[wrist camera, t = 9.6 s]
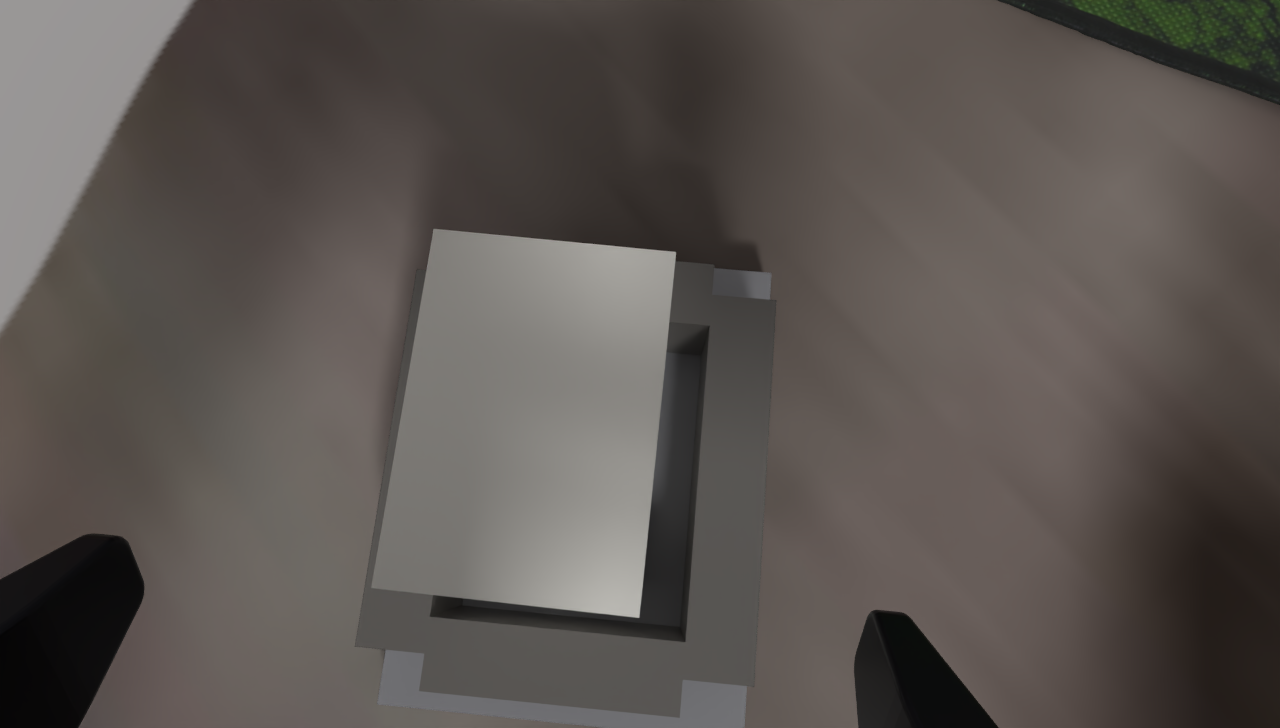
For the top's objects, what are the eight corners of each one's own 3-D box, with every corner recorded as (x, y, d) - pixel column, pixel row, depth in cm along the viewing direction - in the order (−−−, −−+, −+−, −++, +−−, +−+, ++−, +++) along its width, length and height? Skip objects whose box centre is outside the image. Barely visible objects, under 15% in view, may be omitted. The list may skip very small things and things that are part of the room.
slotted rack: (738, 732, 20) (760, 779, 16) (390, 696, 20) (328, 733, 16) (766, 284, 23) (791, 230, 19) (457, 258, 23) (417, 200, 19)
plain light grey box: (643, 579, 20) (639, 618, 10) (506, 564, 20) (371, 588, 10) (662, 386, 21) (675, 252, 11) (533, 373, 21) (433, 228, 11)
